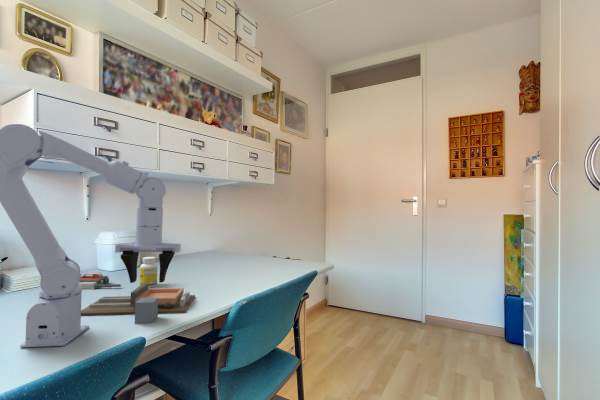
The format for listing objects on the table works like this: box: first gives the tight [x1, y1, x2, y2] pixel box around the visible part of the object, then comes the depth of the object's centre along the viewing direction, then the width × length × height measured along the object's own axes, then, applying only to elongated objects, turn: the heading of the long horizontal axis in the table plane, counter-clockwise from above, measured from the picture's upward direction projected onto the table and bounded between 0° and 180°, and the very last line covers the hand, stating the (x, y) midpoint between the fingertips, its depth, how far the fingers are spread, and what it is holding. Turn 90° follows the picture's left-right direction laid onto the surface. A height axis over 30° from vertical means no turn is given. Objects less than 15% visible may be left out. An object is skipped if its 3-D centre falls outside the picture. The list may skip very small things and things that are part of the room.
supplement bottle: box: [139, 256, 158, 289], centre depth 106 cm, size 5×5×10 cm
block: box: [134, 297, 159, 325], centre depth 75 cm, size 4×4×5 cm
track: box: [81, 290, 196, 317], centre depth 85 cm, size 14×26×3 cm, turn 99°
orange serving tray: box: [130, 283, 185, 309], centre depth 86 cm, size 12×11×4 cm
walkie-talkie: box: [78, 272, 121, 290], centre depth 104 cm, size 9×4×20 cm
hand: (147, 281), depth 75 cm, fingers open, 6 cm apart
